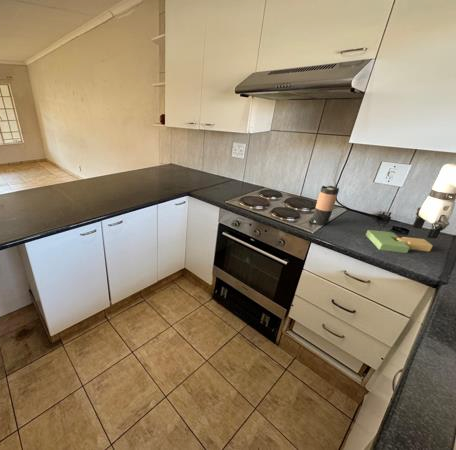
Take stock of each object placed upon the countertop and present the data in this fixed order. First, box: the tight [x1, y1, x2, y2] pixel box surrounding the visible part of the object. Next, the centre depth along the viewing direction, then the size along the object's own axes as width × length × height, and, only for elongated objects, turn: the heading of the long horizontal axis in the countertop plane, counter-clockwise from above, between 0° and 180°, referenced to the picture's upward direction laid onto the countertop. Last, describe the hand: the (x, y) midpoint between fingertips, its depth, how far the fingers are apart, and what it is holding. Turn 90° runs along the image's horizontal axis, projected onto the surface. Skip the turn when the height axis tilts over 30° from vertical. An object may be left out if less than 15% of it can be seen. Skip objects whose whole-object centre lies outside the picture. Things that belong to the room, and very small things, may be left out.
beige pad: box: [396, 236, 433, 253], centre depth 111 cm, size 11×6×3 cm, turn 73°
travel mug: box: [312, 185, 340, 227], centre depth 129 cm, size 8×8×20 cm
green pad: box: [365, 229, 410, 254], centre depth 113 cm, size 10×14×3 cm
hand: (423, 232), depth 107 cm, fingers open, 9 cm apart
